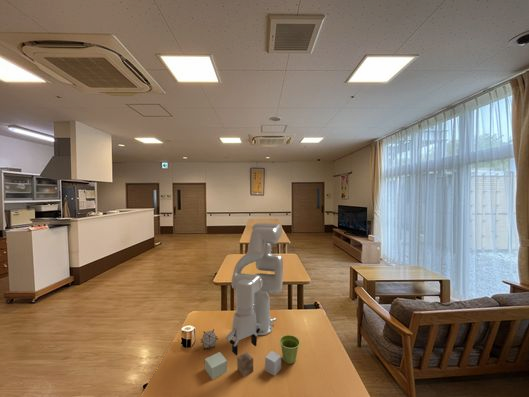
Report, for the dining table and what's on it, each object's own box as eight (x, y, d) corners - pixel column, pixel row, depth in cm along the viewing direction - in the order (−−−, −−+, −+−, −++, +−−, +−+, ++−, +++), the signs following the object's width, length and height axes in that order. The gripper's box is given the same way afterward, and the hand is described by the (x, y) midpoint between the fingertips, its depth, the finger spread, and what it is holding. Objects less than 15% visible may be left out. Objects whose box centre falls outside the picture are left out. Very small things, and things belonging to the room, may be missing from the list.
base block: (219, 362, 106) (219, 351, 106) (227, 371, 101) (227, 360, 100) (205, 369, 102) (205, 358, 102) (212, 380, 96) (212, 368, 96)
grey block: (271, 363, 105) (271, 350, 105) (281, 368, 102) (281, 355, 102) (265, 370, 101) (265, 357, 101) (274, 376, 98) (274, 362, 98)
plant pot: (301, 354, 111) (301, 337, 110) (297, 369, 102) (297, 350, 102) (282, 350, 114) (282, 333, 114) (277, 364, 105) (277, 345, 105)
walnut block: (246, 364, 105) (246, 351, 104) (253, 371, 101) (253, 358, 100) (237, 370, 102) (237, 356, 101) (243, 377, 98) (243, 363, 97)
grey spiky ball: (211, 356, 115) (212, 348, 109) (196, 348, 116) (196, 340, 110) (220, 338, 122) (221, 330, 116) (206, 331, 123) (207, 322, 117)
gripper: (256, 300, 108) (255, 337, 108) (222, 312, 98) (222, 352, 98) (266, 307, 102) (265, 345, 102) (231, 319, 92) (231, 362, 92)
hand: (244, 348), depth 100 cm, fingers open, 9 cm apart
